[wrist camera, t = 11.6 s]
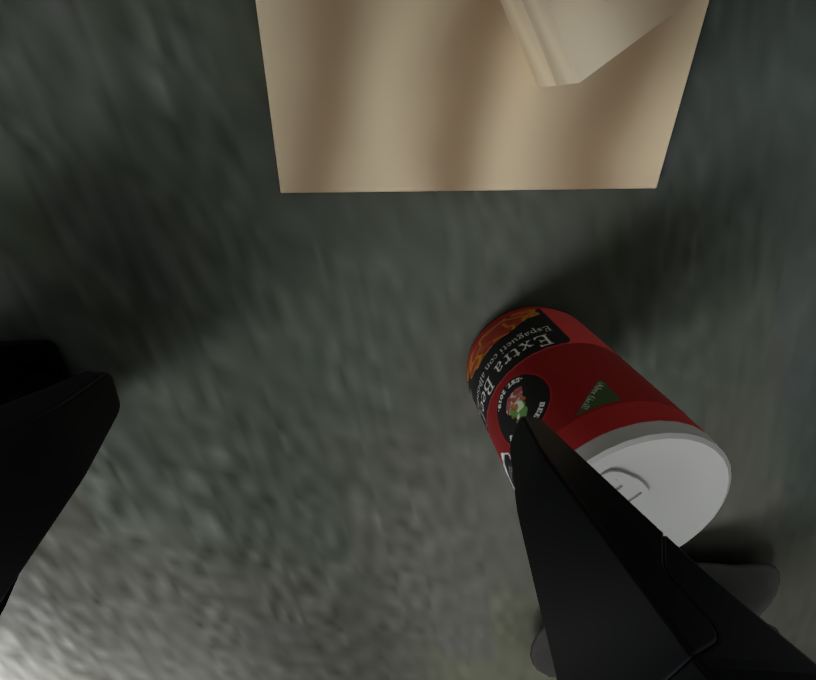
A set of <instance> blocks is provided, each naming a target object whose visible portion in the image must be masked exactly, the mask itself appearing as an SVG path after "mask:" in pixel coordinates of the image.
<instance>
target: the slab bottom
mask: <svg viewBox="0 0 816 680" xmlns="http://www.w3.org/2000/svg"><path fill="white" fill-rule="evenodd" d="M500 1H501V4H502V6H503V9H504V11H505V13H506V16H507V18H508V20H509V23H510V25H511V27H512V30H513V32H514V34H515V37H516V39H517V41H518V44H519V46H520V48H521V51H522V53H523V55H524V58H525V60H526V62H527V65H528V67H529V69H530V72H531V74H532V76H533V79H534V81H535V83H536V86H537V88H540V87H549V86H556V83H555V81H554V78H553V76H552V73H551V71H550V68H549V66H548V63H547V61H546V58H545V56H544V54H543V51H542V49H541V46H540V44H539V41H538V39H537V36H536V34H535V31H534V29H533V26H532V24H531V21H530V19H529V16H528V14H527V12H526V9H525V7H524V4H523V2H522V0H500Z"/></svg>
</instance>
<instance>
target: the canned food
mask: <svg viewBox="0 0 816 680" xmlns="http://www.w3.org/2000/svg"><path fill="white" fill-rule="evenodd" d="M467 382H468V386H469V390H470V393H471V395H472V397H473V399H474V402H475V404H476V406H477V408H478V410H479V413H480V415H481V417H482V419H483V422H484V424H485V426H486V428H487V430H488V433H489V435H490V437H491V439H492V442H493V444H494V446H495V448H496V450H497V453H498V455H499V457H500V459H501V462H502V464H503V466H504V468H505V470H506V473H507V475H508V477H509V479H510V482H511V484H512V486H513V488H514V481H513V472H512V464H511V456H510V443H511V439H512V437H513V434H514V431H515V429H516V426H517V424H518V421H519V419H520V418H521V417H523V416H529V417H537V418H540V419H541V420H542V421H543V422H544V423H546V424H547V425H548V426H549V427H550V428H551V429H552V430H553V431H554V432H555V433H556V434H557V435H558V436H560V437H561V438H562V439H563V440H564V441H565V442H566V443H567V444H568V445H569V446H570V447H571V448H572V449H574V450H575V451H576V452H577V453H578V454H579V455H580V456H581V457H582V458H583V459H584V460H585V461H586V462H587V463H589V464H590V465H591V466H592V467H593V468H594V469H595V470H596V471H597V472H598V473H599V474H600V475H601V476H603V477H604V478H605V479H606V480H607V481H608V482H609V483H610V484H611V485H612V486H613V487H614V488H615V489H617V490H618V491H619V492H620V493H621V494H622V495H623V496H624V497H625V498H626V499H627V500H628V501H629V502H630V503H632V504H633V505H634V506H635V507H636V508H637V509H638V510H639V511H640V512H641V513H642V514H643V515H644V516H646V517H647V518H648V519H649V520H650V521H651V522H652V523H653V524H654V525H655V526H656V527H657V528H658V529H659V530H661V531H662V532H663V536H667V537H668V538H669V539H670V540H671V541H673V542H674V543H675V544H676V545H677V546H678V547H680V546H682V545H683V544H685V543H686V542H688V541H689V540H690V539H692V538H693V537H694V536H695V535H696V534H698V533H699V532H700V531H701V530H702V529H703V528H704V527H705V526H706V525H707V524H708V523H709V522H710V521H711V520H712V519H713V518H714V516H715V515H716V513H717V512H718V510H719V509H720V508H721V506H722V505H723V503H724V501H725V498H726V496H727V494H728V492H729V488H730V483H731V466H730V463H729V461H728V459H727V457H726V454H725V453H724V452H723V451H722V450H721V449H720V448H719V447H718V446H717V445H716V443H715V442H714V441H713V440H712V439H711V438H710V437H709V436H708V435H707V434H706V433H705V432H704V431H703V430H702V429H701V428H700V427H699V426H698V425H696V424H695V423H694V422H693V421H692V420H691V419H690V418H689V417H688V416H687V415H686V414H685V413H684V412H683V411H681V410H680V409H679V408H678V407H677V406H676V405H675V404H673V403H672V402H671V401H670V400H669V399H668V398H667V397H665V396H664V395H663V394H662V393H661V392H660V391H658V390H657V389H656V388H655V387H654V386H653V385H652V384H650V383H649V382H648V381H647V380H646V379H645V378H644V377H642V376H641V375H640V374H639V373H638V372H637V371H636V370H634V369H633V368H632V367H631V366H630V365H629V364H628V363H626V362H625V361H624V360H623V359H622V358H621V357H620V356H618V355H617V354H616V353H615V352H614V351H613V350H611V349H610V348H609V347H608V346H607V345H606V344H605V343H603V342H602V341H601V340H600V339H599V338H598V337H597V336H595V335H594V334H593V333H592V332H591V331H590V330H589V329H587V328H586V327H585V326H584V325H583V324H582V323H581V322H579V321H578V320H577V319H575V318H574V317H572V316H571V315H569V314H567V313H564V312H561V311H558V310H555V309H551V308H547V307H538V306H534V307H524V308H520V309H516V310H512V311H510V312H508V313H506V314H504V315H501V316H500V317H498V318H497V319H495V320H494V321H492V322H491V323H490V324H489V325H488V326H487V327H486V328H485V329H484V330H483V331H482V332H481V333H480V334H479V336H478V337H477V339H476V340H475V341H474V344H473V346H472V348H471V350H470V353H469V357H468V362H467ZM514 490H515V489H514Z"/></svg>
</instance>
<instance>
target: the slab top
mask: <svg viewBox="0 0 816 680" xmlns="http://www.w3.org/2000/svg"><path fill="white" fill-rule="evenodd" d="M690 1H691V0H606V1H604V0H522V2H523V4H524V7H525V9H526V12H527V14H528V16H529V19H530V21H531V24H532V26H533V29H534V31H535V34H536V36H537V39H538V41H539V44H540V46H541V49H542V51H543V54H544V56H545V58H546V61H547V63H548V66H549V68H550V71H551V73H552V76H553V78H554V81H555V83H556V86H557V85H566V84H574V83H580V82H581V81H583V80H584V79H585V78H587V77H588V76H589V75H591V74H592V73H594V72H595V71H596V70H598V69H599V68H600V67H602V66H603V65H604V64H606V63H607V62H608V61H610V60H611V59H612V58H614V57H615V56H617V55H618V54H619V53H621V52H622V51H623V50H625V49H626V48H627V47H629V46H630V45H631V44H633V43H634V42H635V41H637V40H638V39H640V38H641V37H642V36H644V35H645V34H646V33H648V32H649V31H650V30H652V29H653V28H654V27H656V26H657V25H658V24H660V23H661V22H662V21H664V20H665V19H667V18H668V17H669V16H671V15H672V14H673V13H675V12H676V11H677V10H679V9H680V8H681V7H683V6H684V5H685V4H687V3H688V2H690Z"/></svg>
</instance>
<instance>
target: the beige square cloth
mask: <svg viewBox="0 0 816 680" xmlns="http://www.w3.org/2000/svg"><path fill="white" fill-rule="evenodd" d="M708 3H709V0H691V1H690V2H688V3H687V4H685V5H684V6H683V7H681V8H680V9H679V10H677V11H676V12H675V13H673V14H672V15H671V16H669V17H668V18H667V19H665V20H664V21H662V22H661V23H660V24H658V25H657V26H656V27H654V28H653V29H652V30H650V31H649V32H648V33H646V34H645V35H644V36H642V37H641V38H640V39H638V40H637V41H635V42H634V43H633V44H631V45H630V46H629V47H627V48H626V49H625V50H623V51H622V52H621V53H619V54H618V55H617V56H615V57H614V58H612V59H611V60H610V61H608V62H607V63H606V64H604V65H603V66H602V67H600V68H599V69H598V70H596V71H595V72H594V73H592V74H591V75H589V76H588V77H587V78H585V79H584V80H583V81H581V82H580V83H574V84H566V85H557V86H549V87H540V88H537V86H536V83H535V81H534V79H533V76H532V74H531V72H530V69H529V67H528V65H527V62H526V60H525V58H524V55H523V53H522V51H521V48H520V46H519V44H518V41H517V39H516V37H515V34H514V32H513V30H512V27H511V25H510V23H509V20H508V18H507V16H506V13H505V11H504V9H503V6H502V4H501V1H500V0H256V7H257V15H258V22H259V30H260V38H261V45H262V53H263V61H264V68H265V76H266V83H267V91H268V99H269V106H270V114H271V122H272V129H273V137H274V144H275V152H276V160H277V167H278V175H279V183H280V190H281V193H318V192H396V191H473V190H550V189H627V188H656V187H657V183H658V180H659V176H660V173H661V169H662V166H663V162H664V159H665V155H666V151H667V148H668V144H669V141H670V137H671V134H672V130H673V127H674V123H675V120H676V116H677V113H678V109H679V106H680V102H681V98H682V95H683V91H684V88H685V84H686V81H687V77H688V74H689V70H690V67H691V63H692V60H693V56H694V53H695V49H696V45H697V42H698V38H699V35H700V31H701V28H702V24H703V21H704V17H705V14H706V10H707V7H708Z"/></svg>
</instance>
